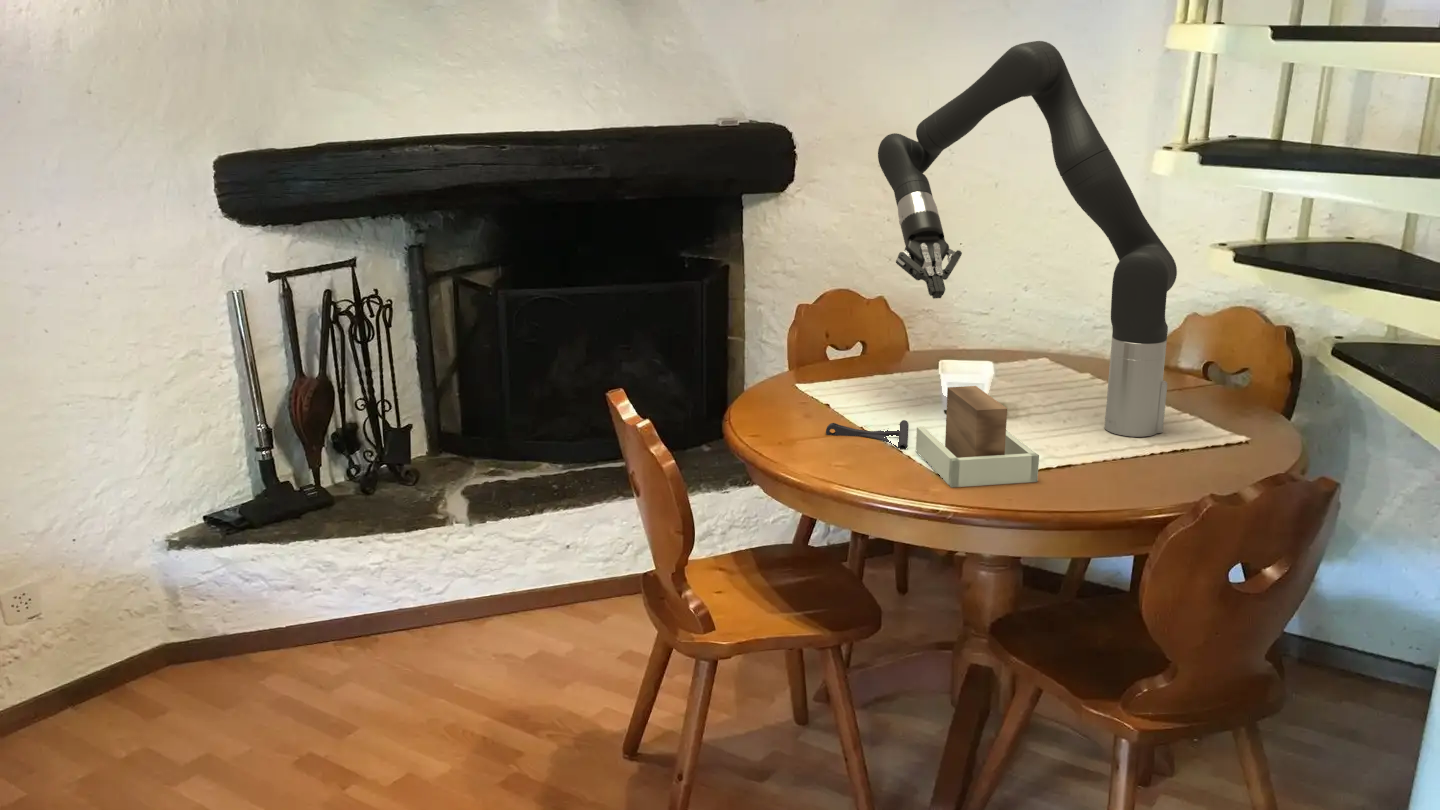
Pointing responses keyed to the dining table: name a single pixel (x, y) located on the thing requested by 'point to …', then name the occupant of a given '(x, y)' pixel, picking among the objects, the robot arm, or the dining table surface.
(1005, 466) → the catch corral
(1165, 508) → the dining table surface
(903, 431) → the dark grey t-shaped piece
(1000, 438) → the walnut board
